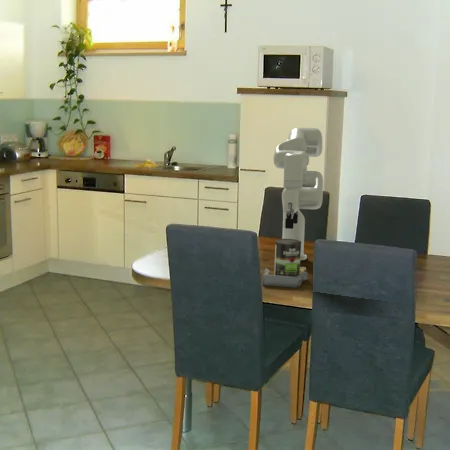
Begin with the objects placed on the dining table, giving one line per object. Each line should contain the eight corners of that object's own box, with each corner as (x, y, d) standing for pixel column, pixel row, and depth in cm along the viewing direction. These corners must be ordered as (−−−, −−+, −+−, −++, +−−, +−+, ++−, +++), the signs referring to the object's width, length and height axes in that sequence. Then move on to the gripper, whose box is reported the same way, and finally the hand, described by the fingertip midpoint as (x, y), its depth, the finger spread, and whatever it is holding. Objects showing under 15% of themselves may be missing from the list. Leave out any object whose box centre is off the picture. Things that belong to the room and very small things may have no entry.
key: (299, 269, 284) (299, 266, 284) (306, 270, 283) (306, 267, 283) (297, 273, 278) (297, 270, 277) (304, 274, 277) (304, 271, 277)
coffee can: (303, 278, 271) (305, 243, 268) (279, 280, 268) (280, 244, 265) (294, 271, 280) (295, 238, 278) (270, 273, 278) (271, 239, 275)
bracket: (264, 275, 273) (265, 266, 273) (307, 279, 270) (307, 269, 269) (258, 284, 261) (258, 274, 260) (303, 288, 257) (303, 278, 256)
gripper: (287, 180, 284) (286, 220, 288) (279, 187, 268) (278, 229, 272) (305, 181, 282) (304, 222, 286) (298, 188, 266) (296, 231, 270)
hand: (291, 225), depth 279 cm, fingers open, 9 cm apart
